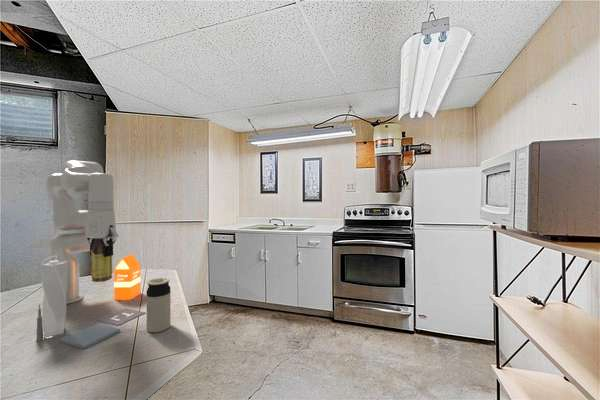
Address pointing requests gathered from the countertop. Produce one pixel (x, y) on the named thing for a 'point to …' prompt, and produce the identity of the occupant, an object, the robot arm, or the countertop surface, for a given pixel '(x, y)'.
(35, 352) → the countertop surface
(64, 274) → the skyscraper
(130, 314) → the tile
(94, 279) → the sauce bottle
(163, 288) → the travel mug
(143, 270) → the countertop surface
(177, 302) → the countertop surface
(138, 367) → the countertop surface
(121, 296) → the orange juice
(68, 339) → the pad
